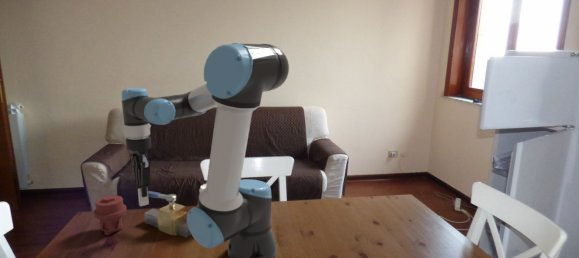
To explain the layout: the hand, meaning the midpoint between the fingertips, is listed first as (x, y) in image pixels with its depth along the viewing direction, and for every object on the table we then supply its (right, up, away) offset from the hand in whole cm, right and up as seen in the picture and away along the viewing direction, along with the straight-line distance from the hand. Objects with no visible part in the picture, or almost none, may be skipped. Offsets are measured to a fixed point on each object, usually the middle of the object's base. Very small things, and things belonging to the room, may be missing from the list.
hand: (144, 204), depth 123 cm
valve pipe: (+7, -9, +6) cm, 13 cm away
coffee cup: (+21, -9, +8) cm, 25 cm away
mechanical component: (-12, -10, +3) cm, 16 cm away
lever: (+5, +2, +4) cm, 6 cm away
